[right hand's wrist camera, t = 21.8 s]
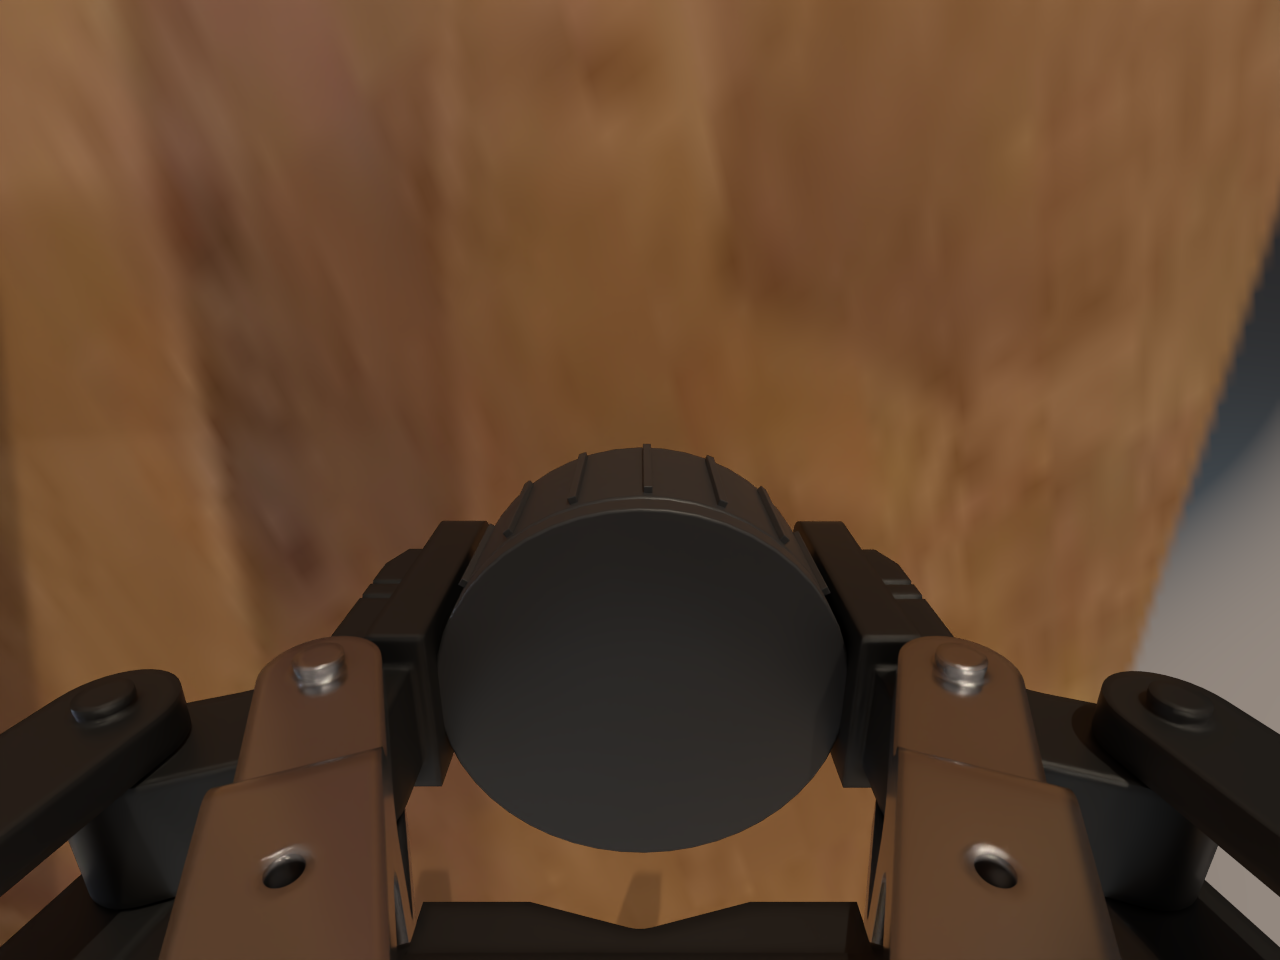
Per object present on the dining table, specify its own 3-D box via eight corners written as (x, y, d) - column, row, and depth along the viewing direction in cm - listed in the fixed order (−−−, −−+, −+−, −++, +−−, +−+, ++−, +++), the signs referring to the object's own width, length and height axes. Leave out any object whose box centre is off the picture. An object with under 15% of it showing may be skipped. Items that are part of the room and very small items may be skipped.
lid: (618, 787, 12) (613, 912, 10) (401, 577, 11) (338, 670, 8) (874, 627, 11) (934, 729, 9) (671, 367, 9) (680, 408, 7)
